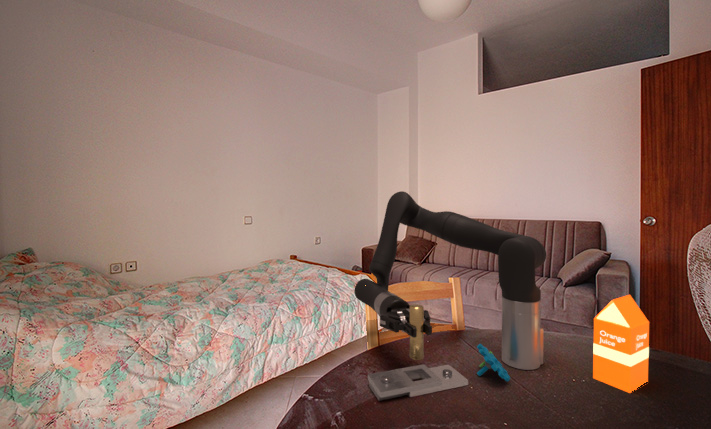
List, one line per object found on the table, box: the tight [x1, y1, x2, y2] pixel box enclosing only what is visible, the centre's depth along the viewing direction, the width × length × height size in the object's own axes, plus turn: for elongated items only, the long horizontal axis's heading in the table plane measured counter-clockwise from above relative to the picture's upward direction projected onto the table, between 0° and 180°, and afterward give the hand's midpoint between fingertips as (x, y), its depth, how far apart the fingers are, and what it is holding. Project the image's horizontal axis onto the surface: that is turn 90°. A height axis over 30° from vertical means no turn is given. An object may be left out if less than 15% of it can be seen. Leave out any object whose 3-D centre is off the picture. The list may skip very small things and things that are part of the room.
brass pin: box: [409, 303, 425, 361], centre depth 80 cm, size 3×3×12 cm
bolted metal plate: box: [367, 364, 469, 402], centre depth 80 cm, size 22×8×3 cm, turn 108°
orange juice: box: [592, 294, 650, 394], centre depth 81 cm, size 8×9×20 cm
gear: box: [476, 343, 511, 382], centre depth 84 cm, size 11×6×10 cm
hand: (422, 332), depth 77 cm, fingers closed on brass pin, 3 cm apart
